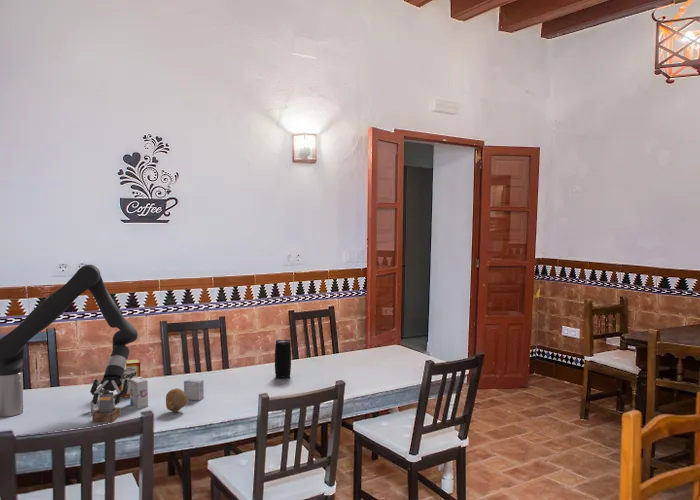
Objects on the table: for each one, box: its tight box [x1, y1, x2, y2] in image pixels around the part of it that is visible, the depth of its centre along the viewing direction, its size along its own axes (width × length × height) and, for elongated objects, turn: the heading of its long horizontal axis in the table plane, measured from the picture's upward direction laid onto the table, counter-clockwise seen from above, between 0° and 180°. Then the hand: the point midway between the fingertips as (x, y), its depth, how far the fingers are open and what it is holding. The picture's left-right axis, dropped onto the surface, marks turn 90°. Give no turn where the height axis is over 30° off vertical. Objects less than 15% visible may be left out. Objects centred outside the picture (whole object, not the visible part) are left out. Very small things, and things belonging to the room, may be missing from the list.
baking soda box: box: [118, 359, 141, 398], centre depth 259 cm, size 10×6×16 cm
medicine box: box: [183, 378, 205, 401], centre depth 253 cm, size 8×4×9 cm, turn 74°
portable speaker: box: [274, 339, 292, 379], centre depth 292 cm, size 9×9×20 cm
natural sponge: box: [165, 387, 189, 413], centre depth 235 cm, size 9×9×10 cm
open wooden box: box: [92, 407, 121, 424], centre depth 225 cm, size 8×8×4 cm
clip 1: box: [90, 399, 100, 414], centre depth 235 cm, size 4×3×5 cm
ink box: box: [129, 376, 149, 409], centre depth 243 cm, size 9×5×12 cm, turn 45°
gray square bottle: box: [98, 389, 115, 413], centre depth 225 cm, size 4×4×12 cm
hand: (105, 403), depth 224 cm, fingers open, 8 cm apart
